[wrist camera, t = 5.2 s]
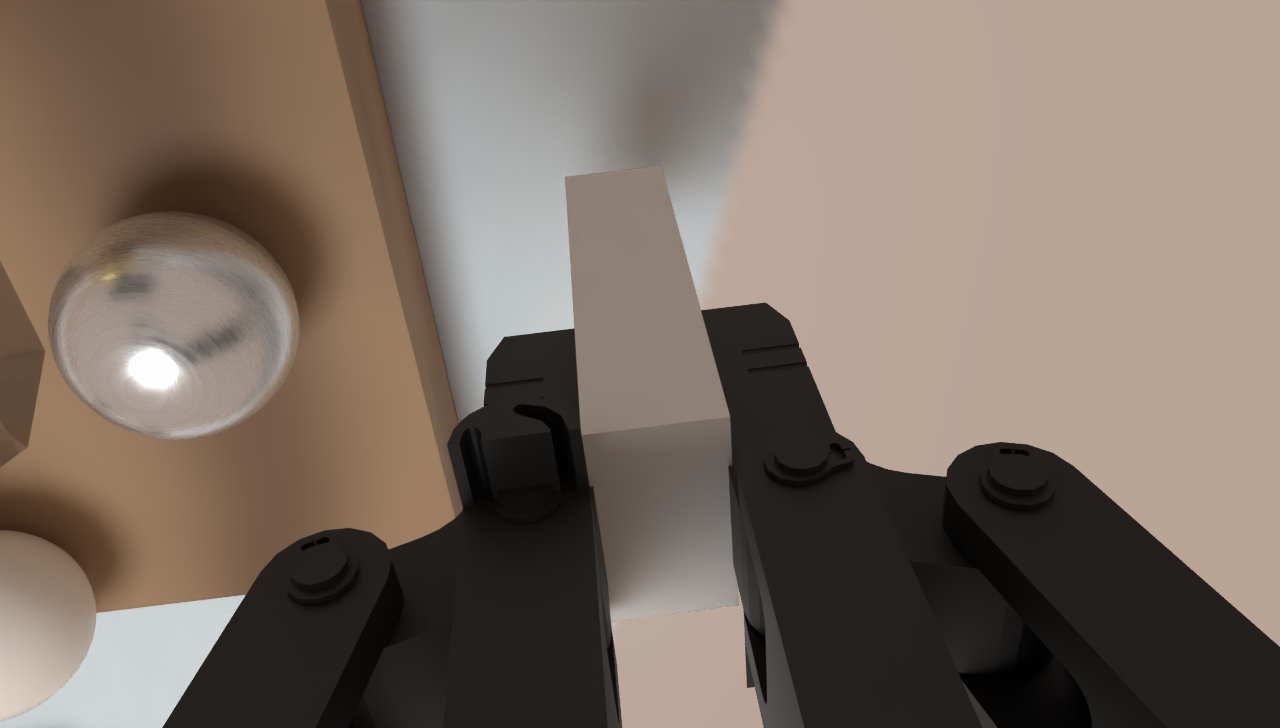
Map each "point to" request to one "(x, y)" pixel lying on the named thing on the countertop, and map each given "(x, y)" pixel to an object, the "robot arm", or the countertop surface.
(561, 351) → the robot arm
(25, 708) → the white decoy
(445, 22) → the countertop surface
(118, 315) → the steel ball
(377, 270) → the board
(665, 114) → the countertop surface
